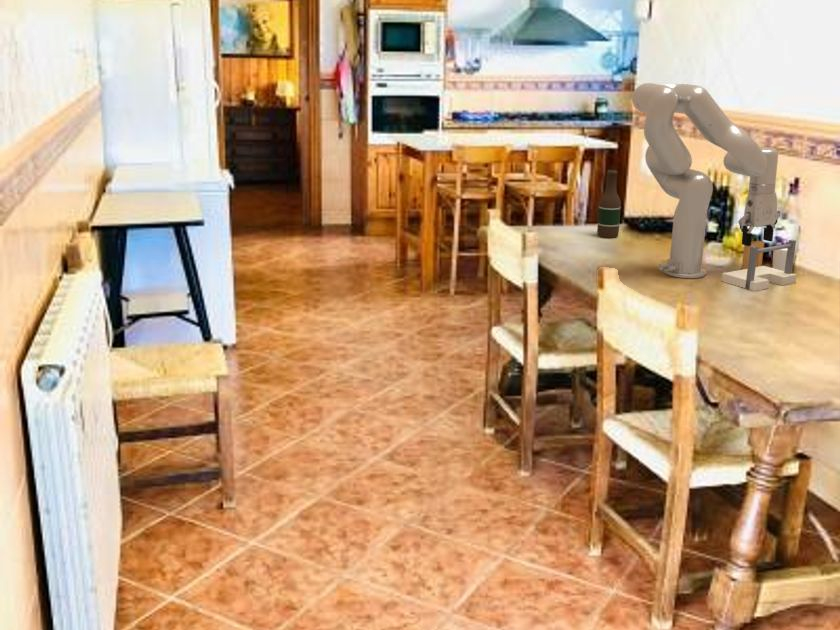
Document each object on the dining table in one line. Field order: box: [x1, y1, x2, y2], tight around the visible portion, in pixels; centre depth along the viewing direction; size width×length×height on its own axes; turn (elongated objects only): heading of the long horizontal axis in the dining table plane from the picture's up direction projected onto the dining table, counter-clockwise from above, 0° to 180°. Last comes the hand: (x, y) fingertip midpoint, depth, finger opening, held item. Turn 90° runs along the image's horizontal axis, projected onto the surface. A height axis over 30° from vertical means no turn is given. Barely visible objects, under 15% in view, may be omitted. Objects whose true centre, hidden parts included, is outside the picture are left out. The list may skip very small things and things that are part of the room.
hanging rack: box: [721, 239, 798, 292], centre depth 262 cm, size 18×12×12 cm, turn 120°
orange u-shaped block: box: [741, 240, 765, 270], centre depth 278 cm, size 2×7×8 cm, turn 120°
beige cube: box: [772, 247, 798, 271], centre depth 277 cm, size 7×7×7 cm
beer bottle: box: [596, 169, 622, 240], centre depth 318 cm, size 8×8×24 cm
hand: (757, 242), depth 277 cm, fingers open, 9 cm apart
